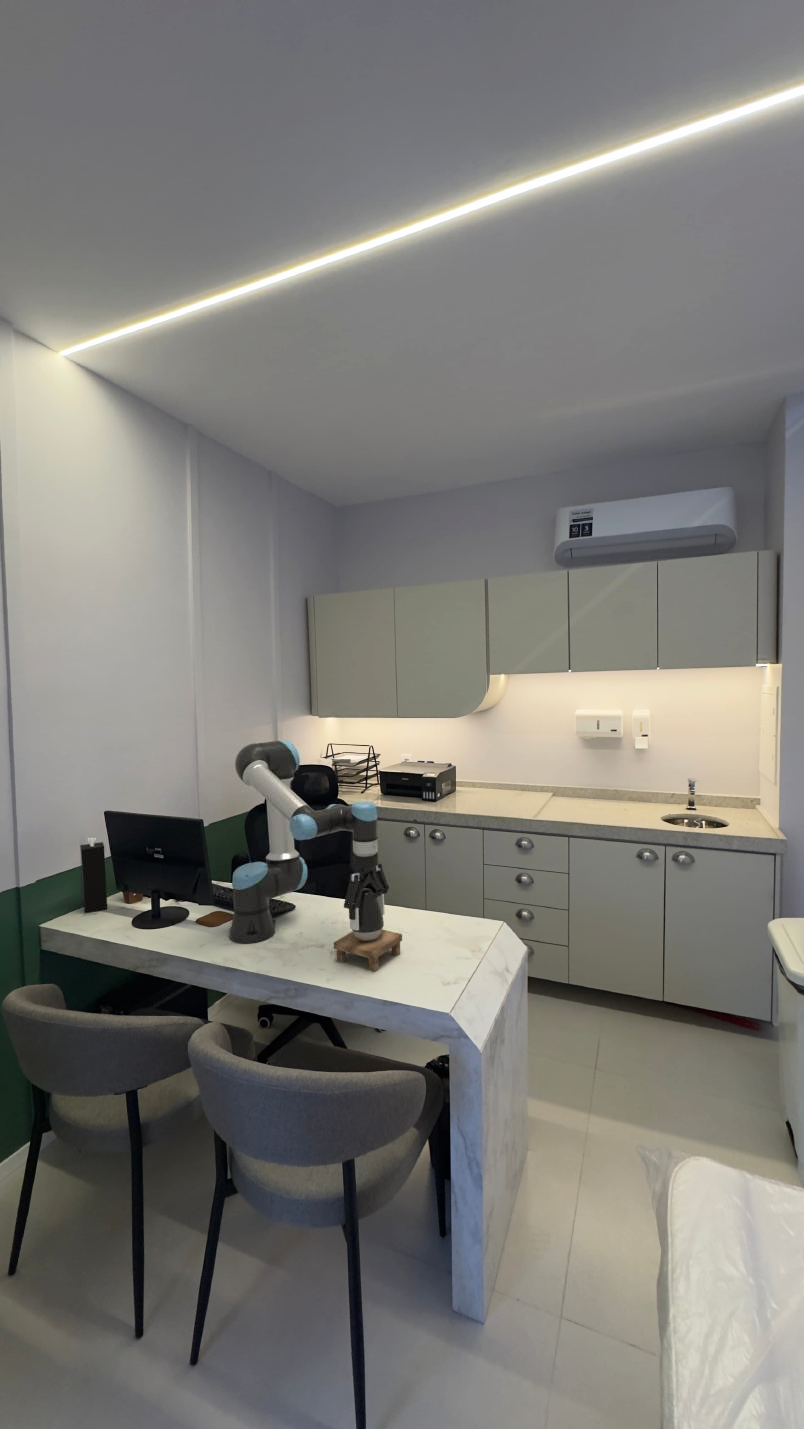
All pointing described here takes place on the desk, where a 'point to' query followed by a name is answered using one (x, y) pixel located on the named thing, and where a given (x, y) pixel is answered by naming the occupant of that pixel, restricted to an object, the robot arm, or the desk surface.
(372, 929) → the pump dispenser
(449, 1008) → the desk surface
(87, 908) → the tissue box
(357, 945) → the walnut footstool
